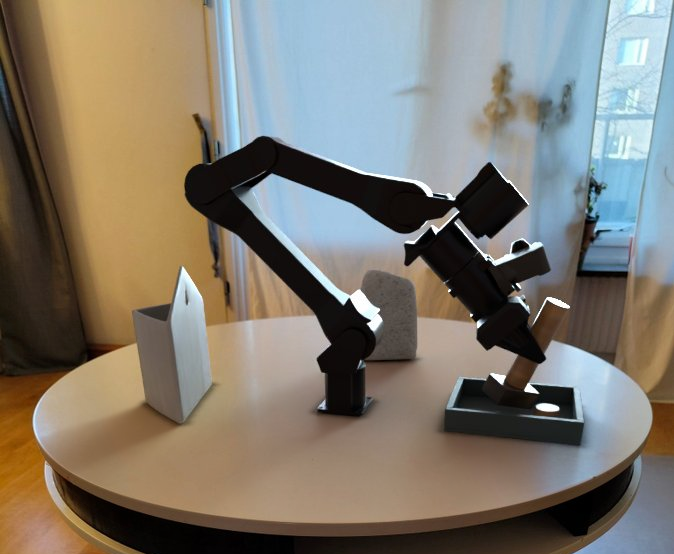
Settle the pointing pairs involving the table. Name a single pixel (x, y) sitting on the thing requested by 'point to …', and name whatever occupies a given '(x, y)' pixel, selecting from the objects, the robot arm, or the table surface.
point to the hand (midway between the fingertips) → (542, 357)
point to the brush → (526, 361)
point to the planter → (174, 351)
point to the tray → (515, 413)
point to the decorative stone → (393, 314)
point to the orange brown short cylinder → (546, 410)
